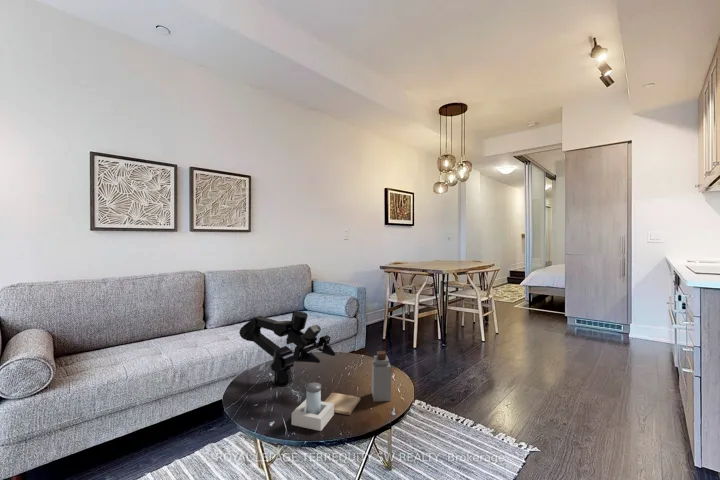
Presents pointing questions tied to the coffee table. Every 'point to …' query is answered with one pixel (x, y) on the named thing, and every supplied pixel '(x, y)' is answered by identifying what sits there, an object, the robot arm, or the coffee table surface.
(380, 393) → the perfume bottle
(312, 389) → the cylinder
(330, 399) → the board
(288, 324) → the robot arm
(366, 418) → the coffee table surface
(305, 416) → the box
